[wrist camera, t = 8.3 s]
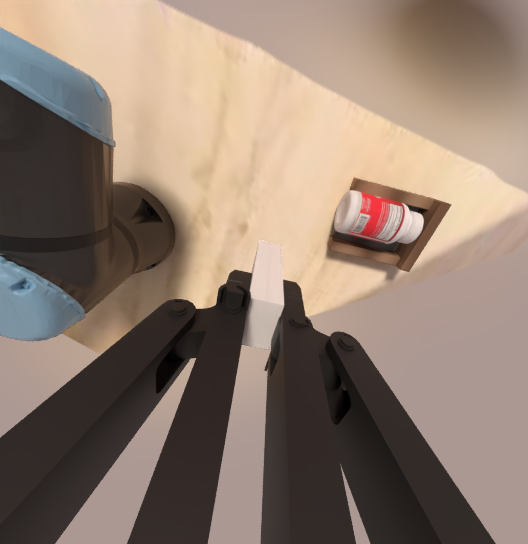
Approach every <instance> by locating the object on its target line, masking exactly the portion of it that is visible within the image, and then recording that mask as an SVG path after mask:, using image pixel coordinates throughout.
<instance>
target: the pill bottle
mask: <svg viewBox="0 0 528 544" xmlns="http://www.w3.org/2000/svg"><path fill="white" fill-rule="evenodd" d="M423 223H424V219H423V216H422V215H421V214H420V213H417V212H413V211H410V210H409V208H408V207H407V206H406V205H405V204H403V203H401V202H397V201H393V200H389V199H385V198H382V197H377V196H374V195H370V194H366V193H362V192H358V191H354V190H350V191H348V192H347V193H346V194H345V195H344V196H343V197H342V199H341V201H340V203H339V205H338V207H337V210H336V214H335V219H334V228H335V230H336V231H337V232H340V233H344V234H348V235H352V236H356V237H360V238H364V239H368V240H372V241H376V242H380V243H385V244H390V243H393V242H395V241H397V242H400V243H405V244H408V243H411V242H413V241H414V240H415V239H416V238H417V237H418V236H419V234H420V233H421V231H422V228H423Z"/></svg>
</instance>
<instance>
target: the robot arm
mask: <svg viewBox="0 0 528 544" xmlns="http://www.w3.org/2000/svg"><path fill="white" fill-rule="evenodd" d="M113 147H115V141H114V140H113V127H112V109H111V103H110V99H109V97H108V95H107V93H106V91H105V90H104V89H103V87H102V86H101V85H100V84H99V83H98V82H97V81H96V80H95V79H94V78H92V77H91V76H89V75H88V74H86V73H84V72H83V71H81V70H79V69H78V68H76V67H74V66H72V65H70V64H69V63H67V62H65V61H63V60H61V59H59V58H58V57H56V56H54V55H52V54H50V53H48V52H46V51H44V50H43V49H41V48H39V47H37V46H35V45H33V44H31V43H29V42H27V41H25V40H24V39H22V38H20V37H18V36H16V35H14V34H12V33H10V32H8V31H6V30H4V29H3V28H1V27H0V336H3V337H7V338H11V339H16V340H24V341H41V340H46V339H49V338H52V337H56V336H58V335H59V334H61V333H63V332H64V331H65V330H67V329H68V328H70V327H71V326H72V325H74V324H75V323H77V322H79V321H81V320H82V319H83V318H84V317H85V316H84V315H85V314H87V313H88V312H89V311H90V310H91V309H92V308H94V307H95V306H96V305H97V304H98V303H99V302H100V301H102V300H103V299H104V298H105V297H106V296H107V295H109V294H110V293H111V292H112V291H113V290H114V289H115V288H117V287H118V286H119V285H120V284H121V283H122V282H124V281H125V280H126V279H127V278H128V277H129V276H130V275H132V274H135V273H139V272H142V271H145V270H148V269H151V268H154V267H156V266H157V265H159V264H160V263H161V262H162V261H164V260H165V259H166V258H167V257H168V255H169V254H170V253H171V251H172V249H173V246H174V242H175V231H174V226H173V222H172V220H171V218H170V215H169V214H168V212H167V210H166V209H165V207H164V206H163V205H162V204H161V202H160V201H159V200H158V199H157V198H156V197H154V196H153V195H152V194H151V193H149V192H148V191H146V190H145V189H143V188H141V187H139V186H136V185H134V184H130V183H125V182H113ZM241 345H246V346H251V347H256V348H261V349H266V350H269V348H270V345H271V352H270V355H269V358H268V361H267V364H266V367H265V371H267V369H268V376H267V378H268V379H267V401H266V425H265V450H264V451H265V452H264V474H263V499H262V523H261V524H262V525H261V544H356V541H355V536H354V531H353V526H352V521H351V516H350V511H349V506H348V501H347V496H346V491H345V486H344V481H343V476H342V471H341V466H342V469H343V472H344V474H345V477H346V479H347V482H348V485H349V488H350V490H351V493H352V496H353V498H354V501H355V503H356V506H357V509H358V511H359V514H360V517H361V519H362V522H363V525H364V527H365V530H366V533H367V535H368V538H369V541H370V543H371V544H495V542H494V541H493V539H492V538H491V536H490V535H489V533H488V532H487V530H486V529H485V528H484V526H483V524H482V523H481V521H480V520H479V519H478V517H477V516H476V514H475V513H474V511H473V510H472V508H471V507H470V505H469V504H468V502H467V501H466V499H465V498H464V496H463V495H462V494H461V492H460V491H459V489H458V488H457V486H456V485H455V483H454V482H453V480H452V479H451V477H450V476H449V474H448V473H447V471H446V470H445V468H444V467H443V466H442V464H441V463H440V461H439V460H438V458H437V457H436V455H435V454H434V452H433V451H432V449H431V448H430V446H429V445H428V444H427V442H426V441H425V439H424V438H423V436H422V435H421V433H420V432H419V430H418V429H417V427H416V426H415V424H414V423H413V421H412V420H411V418H410V417H409V415H408V414H407V412H406V411H405V410H404V408H403V407H402V405H401V404H400V402H399V401H398V399H397V398H396V396H395V395H394V393H393V392H392V390H391V389H390V387H389V386H388V385H387V383H386V382H385V380H384V379H383V377H382V376H381V374H380V373H379V371H378V370H377V368H376V367H375V365H374V364H373V362H372V361H371V359H370V358H369V357H368V355H367V354H366V352H365V351H364V349H363V348H362V346H361V345H360V343H359V342H358V341H357V340H356V339H355V338H353V337H352V336H351V335H349V334H346V333H344V332H334V333H332V334H331V336H330V337H329V336H327V335H325V334H322V333H320V332H318V331H316V330H315V329H314V328H313V326H312V323H311V321H310V320H309V319H308V318H307V317H306V316H305V311H304V305H303V300H302V293H301V288H300V287H299V286H298V284H297V283H296V282H291V281H287V280H283V271H282V252H281V245H280V244H276V243H272V242H268V241H263V240H259V243H258V247H257V251H256V256H255V260H254V264H253V269H252V273H248V272H243V271H239V270H234V271H233V272H231V273H230V274H229V277H228V280H227V282H226V284H224V285H222V286H221V287H220V288H219V290H218V296H217V303H216V305H215V306H213V307H210V308H205V309H196V307H195V306H194V304H193V303H191V302H189V301H188V300H183V299H174V300H169V301H167V302H165V303H164V304H162V305H161V306H160V307H159V308H157V309H156V310H155V311H154V312H153V313H151V314H150V315H149V316H148V317H146V318H145V319H144V320H143V321H142V322H140V323H139V324H138V325H137V326H136V327H134V328H133V329H132V330H131V331H129V332H128V333H127V334H126V335H125V336H123V337H122V338H121V339H120V340H119V341H117V342H116V343H115V344H114V345H112V346H111V347H110V348H109V349H108V350H106V351H105V352H104V353H103V354H101V355H100V356H99V357H98V358H97V359H95V360H94V361H93V362H92V363H91V364H89V365H88V366H87V367H86V368H84V369H83V370H82V371H81V372H80V373H78V374H77V375H76V376H75V377H74V378H72V379H71V380H70V381H69V382H67V383H66V384H65V385H64V386H63V387H61V388H60V389H59V390H58V391H57V392H56V393H54V394H53V395H52V396H51V397H49V398H48V399H47V400H46V401H44V402H43V403H42V404H41V405H40V406H38V407H37V408H36V409H35V410H34V411H32V412H31V413H30V414H29V415H27V416H26V417H25V418H24V419H23V420H21V421H20V422H19V423H18V424H16V425H15V426H14V427H13V428H12V429H10V430H9V431H8V432H7V433H6V434H4V435H3V436H2V437H1V438H0V544H55V543H56V541H57V540H58V539H59V537H60V536H61V535H62V533H63V531H65V529H66V528H67V526H68V525H69V524H70V522H71V521H72V520H73V518H74V517H75V516H76V514H77V513H78V512H79V510H80V509H81V507H82V506H83V505H84V503H85V502H86V501H87V499H88V498H89V497H90V495H91V494H92V493H93V491H94V490H95V488H96V487H97V486H98V484H99V483H100V481H101V480H102V479H103V478H104V476H105V475H106V473H107V472H108V471H109V469H110V468H111V467H112V465H113V464H114V463H115V461H116V460H117V459H118V457H119V456H120V454H121V453H122V452H123V450H124V449H125V448H126V446H127V445H128V443H129V442H130V441H131V439H132V438H133V437H134V435H135V434H136V433H137V431H138V430H139V428H140V427H141V426H142V424H143V423H144V422H145V420H146V419H147V417H148V416H149V415H150V414H151V412H152V411H153V409H154V408H155V407H156V405H157V404H158V403H159V401H160V400H161V399H162V397H163V396H164V394H165V393H166V392H167V390H168V389H169V388H170V386H171V385H172V384H173V382H174V381H175V379H176V378H177V377H178V376H179V374H180V373H181V371H182V370H183V369H184V367H185V366H186V365H187V363H188V362H189V360H190V358H196V360H195V363H194V366H193V368H192V371H191V374H190V377H189V379H188V382H187V385H186V387H185V390H184V393H183V395H182V398H181V401H180V404H179V406H178V409H177V411H176V414H175V417H174V419H173V422H172V425H171V428H170V430H169V433H168V435H167V439H166V441H165V443H164V446H163V449H162V452H161V454H160V457H159V460H158V462H157V465H156V468H155V471H154V473H153V476H152V478H151V481H150V484H149V486H148V489H147V492H146V495H145V497H144V500H143V502H142V505H141V508H140V511H139V513H138V516H137V519H136V521H135V524H134V527H133V529H132V532H131V535H130V538H129V540H128V543H127V544H208V538H209V532H210V527H211V521H212V515H213V509H214V503H215V497H216V491H217V486H218V479H219V474H220V467H221V462H222V456H223V450H224V445H225V439H226V433H227V427H228V421H229V415H230V409H231V404H232V398H233V392H234V386H235V380H236V374H237V368H238V362H239V356H240V351H241ZM340 464H341V466H340Z"/></svg>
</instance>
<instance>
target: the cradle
mask: <svg viewBox="0 0 528 544" xmlns="http://www.w3.org/2000/svg"><path fill="white" fill-rule="evenodd" d="M350 188H351V189H353V190H354V191H358V192H362V193H366V194H370V195H374V196H377V197H382V198H385V199H389V200H393V201H397V202H401V203H403V204H405V205H406V206H407V207H408V208H409V210H410V211H413V212H417V213H420V214H421V215H422V216H423V219H424V223H423V228H422V231H421V233H420V234H419V236H418V237H417V238H416V239H415V240H414V241H413V242H411V243H408V244H405V243H400V242H397V241H395V242H393V243H390V244H385V243H380V242H376V241H372V240H368V239H364V238H360V237H356V236H352V235H348V234H344V233H340V232H337V231H336V232H335V234H334V237H333V236H331V237H330V239H329V242H328V246H329V248H330V250H334V251H338V252H342V253H346V254H351V255H355V256H359V257H363V258H367V259H371V260H375V261H379V262H384V263H388V264H392V265H396V266H397V267H398V268H399V269H400V270H403V271H407V272H409V271H410V269H411V268H412V266H413V265H414V263H415V262H416V260H417V258H418V257H419V255H420V254H421V252H422V251H423V249H424V247H425V246H426V244H427V243H428V241H429V240H430V238H431V236H432V235H433V233H434V232H435V230H436V228H437V227H438V225H439V224H440V222H441V221H442V219H443V217H444V216H445V214H446V213H447V211H448V210H449V208H450V206H451V204H448V203H445V202H442V201H439V200H436V199H433V198H429V197H425V196H422V195H418V194H414V193H410V192H406V191H403V190H399V189H395V188H391V187H387V186H384V185H380V184H376V183H372V182H368V181H365V180H361V179H357V178H354V179H353V182H352V184H351V187H350Z"/></svg>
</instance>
